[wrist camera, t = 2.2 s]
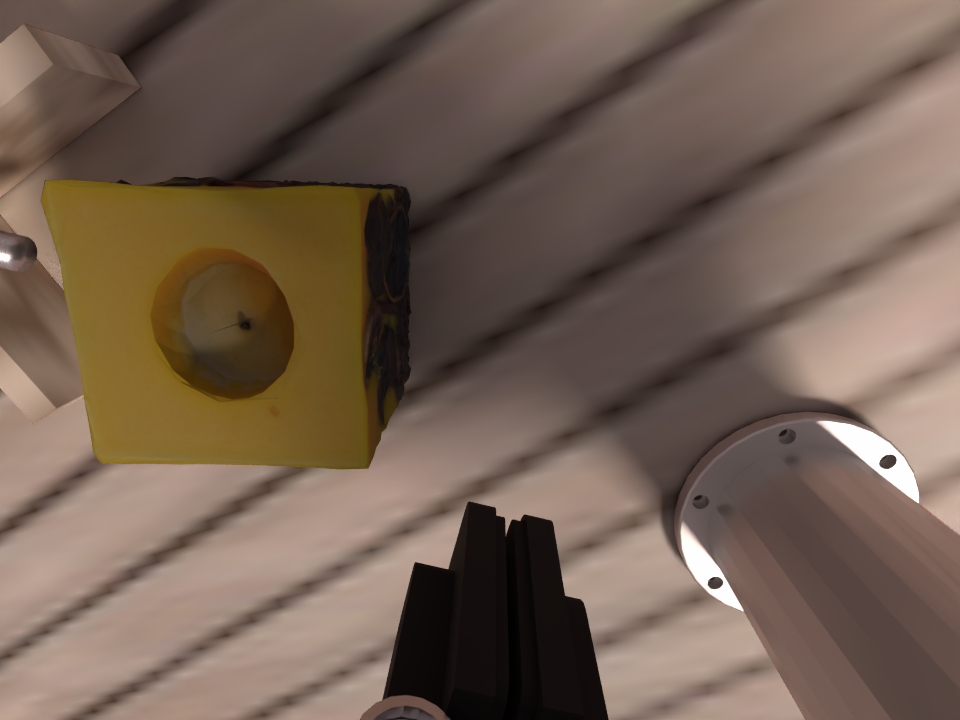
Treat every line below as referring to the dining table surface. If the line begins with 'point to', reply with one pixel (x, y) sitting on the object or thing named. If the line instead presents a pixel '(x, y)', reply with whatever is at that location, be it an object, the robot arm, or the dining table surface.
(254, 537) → the dining table surface
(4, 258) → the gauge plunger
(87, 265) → the candle
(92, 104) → the centring jig
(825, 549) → the robot arm
